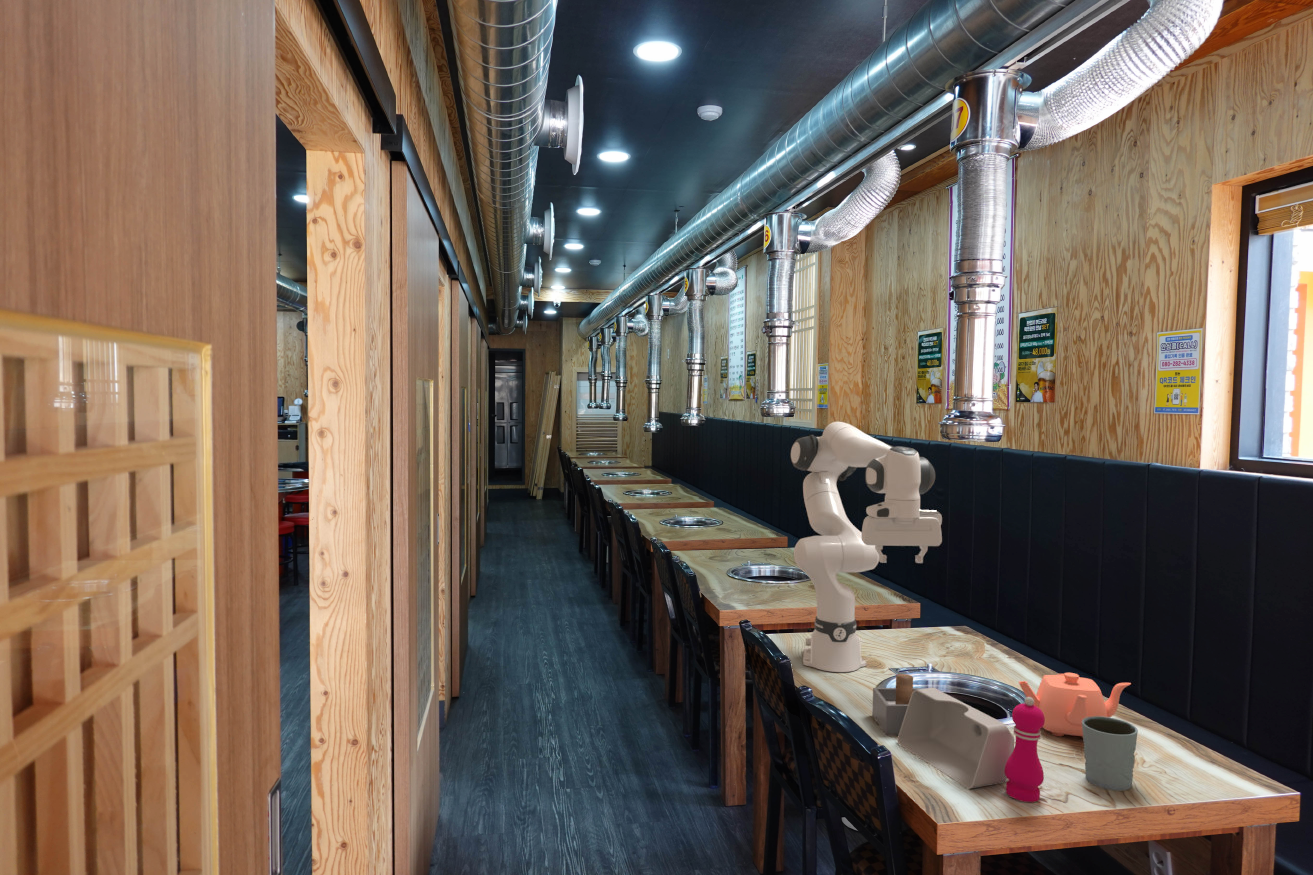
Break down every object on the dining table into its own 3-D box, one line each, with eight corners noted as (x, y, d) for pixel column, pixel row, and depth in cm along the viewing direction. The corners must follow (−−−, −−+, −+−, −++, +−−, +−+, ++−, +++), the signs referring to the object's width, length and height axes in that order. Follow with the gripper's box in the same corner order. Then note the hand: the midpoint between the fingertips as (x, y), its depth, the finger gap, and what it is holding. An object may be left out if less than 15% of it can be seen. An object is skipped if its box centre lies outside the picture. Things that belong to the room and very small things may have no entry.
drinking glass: (1147, 790, 168) (1149, 732, 168) (1104, 794, 166) (1106, 736, 166) (1110, 768, 178) (1112, 713, 178) (1069, 772, 176) (1071, 717, 176)
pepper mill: (1040, 807, 161) (1048, 706, 160) (1000, 796, 164) (1008, 697, 163) (1043, 793, 167) (1051, 696, 166) (1005, 783, 170) (1012, 688, 170)
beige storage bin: (1032, 780, 173) (1034, 721, 172) (971, 791, 167) (972, 731, 167) (952, 734, 196) (953, 682, 196) (895, 742, 191) (897, 689, 190)
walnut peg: (892, 721, 203) (894, 673, 203) (909, 721, 203) (910, 673, 203) (897, 727, 199) (898, 679, 199) (914, 728, 199) (915, 679, 199)
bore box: (872, 715, 207) (873, 687, 207) (920, 715, 207) (920, 688, 207) (885, 734, 195) (886, 705, 195) (936, 734, 195) (937, 705, 195)
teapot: (1130, 736, 196) (1132, 679, 195) (1082, 752, 186) (1085, 692, 186) (1059, 711, 211) (1061, 658, 211) (1012, 724, 202) (1014, 669, 201)
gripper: (937, 508, 217) (936, 560, 218) (860, 507, 217) (859, 559, 218) (946, 511, 211) (944, 565, 211) (866, 510, 211) (865, 564, 211)
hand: (900, 562), depth 214 cm, fingers open, 8 cm apart
